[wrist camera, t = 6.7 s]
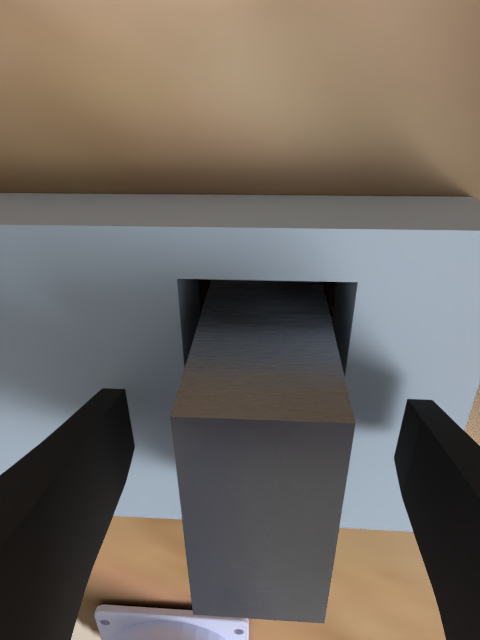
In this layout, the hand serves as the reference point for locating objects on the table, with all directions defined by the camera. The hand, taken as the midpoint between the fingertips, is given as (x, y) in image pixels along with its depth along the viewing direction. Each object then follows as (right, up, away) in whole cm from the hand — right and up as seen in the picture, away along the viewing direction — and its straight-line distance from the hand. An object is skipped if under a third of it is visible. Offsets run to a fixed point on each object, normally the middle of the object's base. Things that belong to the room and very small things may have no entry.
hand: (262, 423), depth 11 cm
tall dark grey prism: (0, +2, +3) cm, 4 cm away
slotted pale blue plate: (-3, +2, +3) cm, 5 cm away
